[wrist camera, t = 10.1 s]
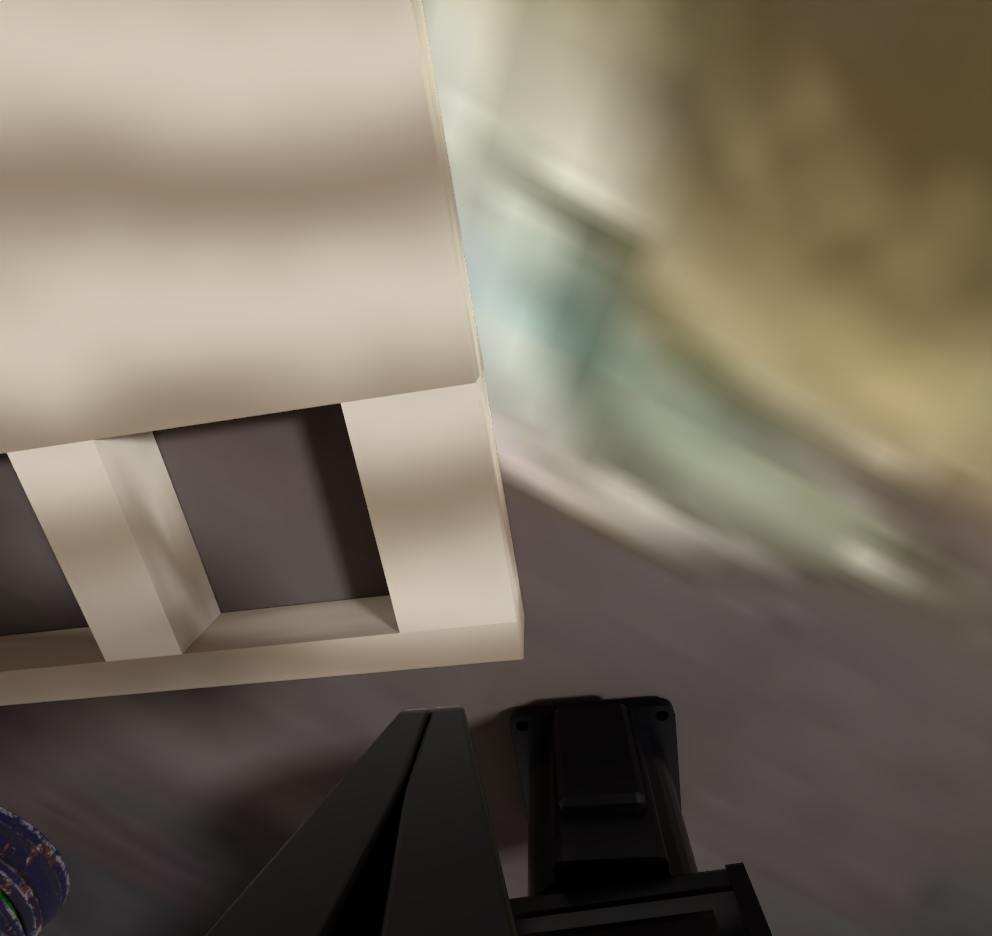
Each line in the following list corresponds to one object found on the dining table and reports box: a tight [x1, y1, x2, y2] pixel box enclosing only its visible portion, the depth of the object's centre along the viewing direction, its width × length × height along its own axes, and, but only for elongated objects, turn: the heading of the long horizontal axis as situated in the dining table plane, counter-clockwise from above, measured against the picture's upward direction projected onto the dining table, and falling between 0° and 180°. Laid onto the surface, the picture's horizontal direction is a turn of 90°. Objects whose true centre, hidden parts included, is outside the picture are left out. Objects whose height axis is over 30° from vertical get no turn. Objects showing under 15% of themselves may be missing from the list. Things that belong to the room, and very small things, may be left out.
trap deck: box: [0, 0, 524, 706], centre depth 17 cm, size 22×28×4 cm
